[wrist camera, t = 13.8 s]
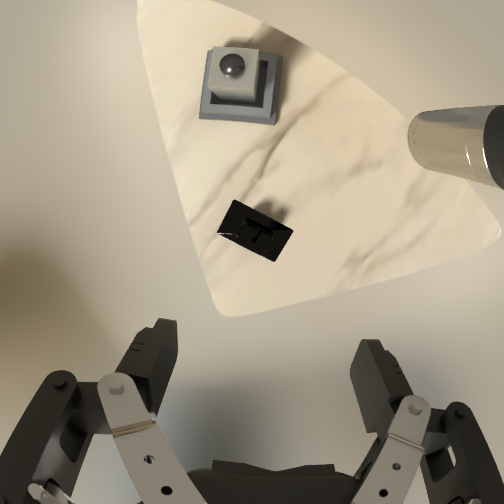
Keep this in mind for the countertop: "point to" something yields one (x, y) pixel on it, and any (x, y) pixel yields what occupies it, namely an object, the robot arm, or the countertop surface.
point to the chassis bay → (238, 110)
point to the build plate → (254, 231)
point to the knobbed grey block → (234, 74)
